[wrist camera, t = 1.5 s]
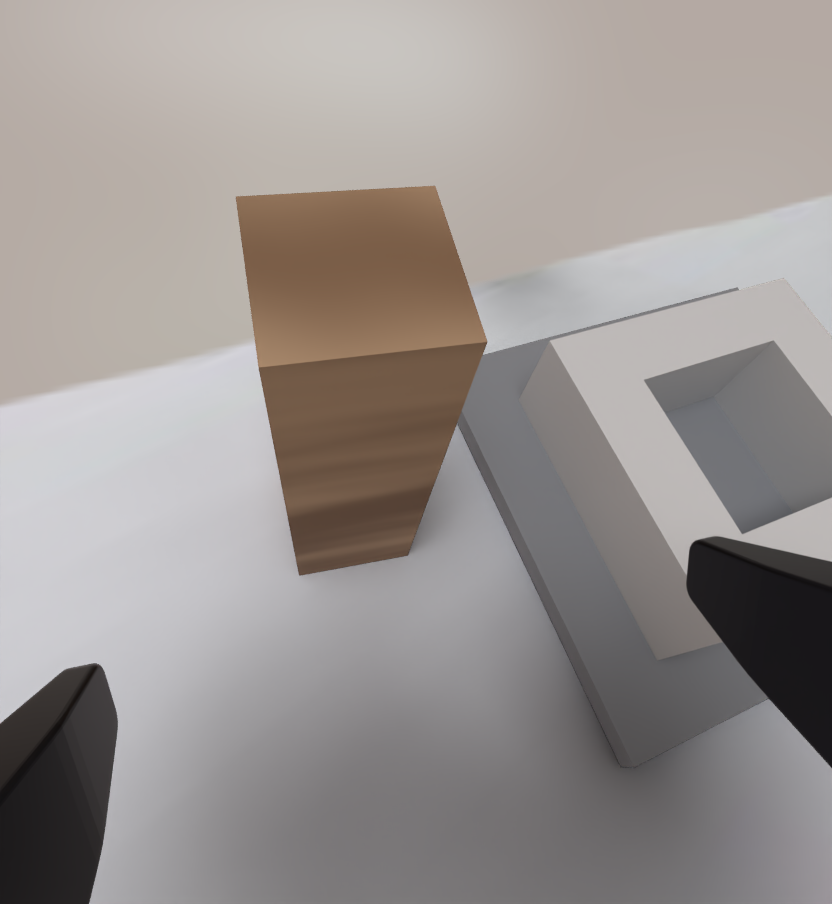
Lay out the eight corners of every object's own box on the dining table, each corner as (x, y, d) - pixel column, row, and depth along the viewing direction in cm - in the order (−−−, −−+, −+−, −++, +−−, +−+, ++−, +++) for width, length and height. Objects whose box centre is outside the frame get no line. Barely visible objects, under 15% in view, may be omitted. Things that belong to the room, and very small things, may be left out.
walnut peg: (407, 555, 22) (487, 341, 11) (299, 575, 21) (259, 367, 10) (386, 459, 24) (435, 185, 12) (284, 475, 23) (235, 196, 12)
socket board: (948, 599, 24) (1087, 565, 20) (620, 766, 20) (703, 770, 15) (725, 301, 30) (792, 223, 26) (436, 379, 26) (458, 302, 21)
